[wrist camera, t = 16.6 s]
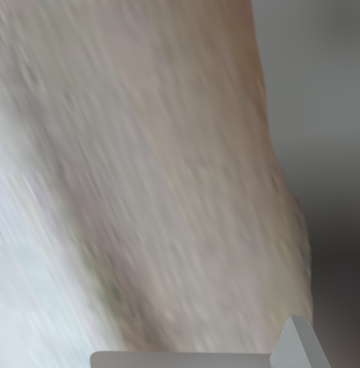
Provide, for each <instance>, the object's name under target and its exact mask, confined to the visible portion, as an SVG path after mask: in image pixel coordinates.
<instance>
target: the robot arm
mask: <svg viewBox="0 0 360 368" xmlns="http://www.w3.org/2000/svg"><path fill="white" fill-rule="evenodd" d="M270 363H271V366H272V368H331V367H330V365H329V363H328V361H327V359H326V357H325V355H324V352H323V350H322V348H321V346H320V344H319V342H318V339H317V337H316V335H315V333H314V331H313V329H312V327H311V324H310V322H309V320H308V318H307V317H303V316H298V315H293V314H290V315H289V317H288V319H287V321H286V324H285V326H284V328H283V330H282V332H281V334H280V337H279V339H278V341H277V343H276V345H275V348H274V350H273V352H272V354H271V356H270Z"/></svg>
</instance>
